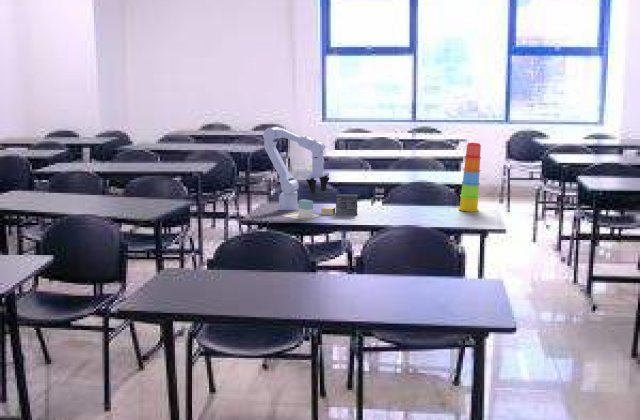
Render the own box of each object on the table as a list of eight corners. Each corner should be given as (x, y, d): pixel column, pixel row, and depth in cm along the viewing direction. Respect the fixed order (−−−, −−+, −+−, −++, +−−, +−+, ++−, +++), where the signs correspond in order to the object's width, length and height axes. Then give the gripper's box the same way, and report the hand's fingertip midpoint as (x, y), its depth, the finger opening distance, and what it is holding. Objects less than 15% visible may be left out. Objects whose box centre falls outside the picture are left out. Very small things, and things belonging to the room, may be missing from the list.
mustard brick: (321, 216, 365) (321, 208, 364) (323, 214, 368) (323, 206, 368) (332, 216, 363) (332, 209, 362) (335, 215, 367) (335, 207, 366)
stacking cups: (471, 207, 384) (474, 141, 377) (482, 211, 375) (485, 143, 368) (454, 209, 381) (456, 142, 374) (465, 212, 371) (467, 144, 364)
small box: (357, 214, 368) (357, 194, 366) (356, 217, 361) (357, 196, 359) (336, 214, 369) (336, 193, 367) (335, 216, 363) (335, 196, 360)
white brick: (298, 216, 360) (298, 208, 359) (304, 215, 363) (304, 207, 362) (307, 217, 356) (307, 209, 355) (312, 216, 359) (312, 208, 358)
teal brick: (298, 208, 359) (298, 200, 359) (304, 207, 362) (304, 199, 361) (307, 209, 355) (307, 201, 354) (313, 208, 358) (313, 200, 357)
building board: (279, 217, 362) (279, 215, 362) (300, 212, 372) (299, 211, 372) (302, 221, 351) (302, 220, 351) (322, 217, 361) (322, 215, 361)
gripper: (313, 167, 362) (313, 194, 365) (333, 164, 372) (333, 190, 375) (303, 166, 367) (303, 193, 369) (323, 163, 377) (323, 189, 380)
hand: (318, 191), depth 372 cm, fingers open, 7 cm apart
